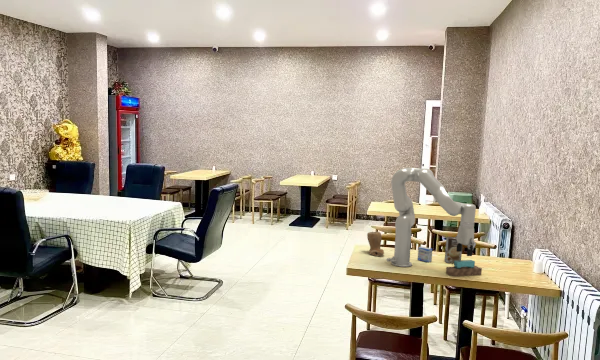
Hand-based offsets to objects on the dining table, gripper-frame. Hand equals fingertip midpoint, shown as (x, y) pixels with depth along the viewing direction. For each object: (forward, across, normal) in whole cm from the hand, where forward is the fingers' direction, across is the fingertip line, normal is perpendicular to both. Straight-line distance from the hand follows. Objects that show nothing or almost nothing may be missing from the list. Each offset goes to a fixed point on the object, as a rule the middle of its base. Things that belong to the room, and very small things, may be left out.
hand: (464, 253), depth 272 cm
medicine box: (+13, -30, -6) cm, 34 cm away
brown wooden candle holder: (+12, +1, +1) cm, 12 cm away
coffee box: (+13, -24, +11) cm, 30 cm away
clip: (+12, +1, +1) cm, 12 cm away
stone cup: (+14, -51, -31) cm, 62 cm away
